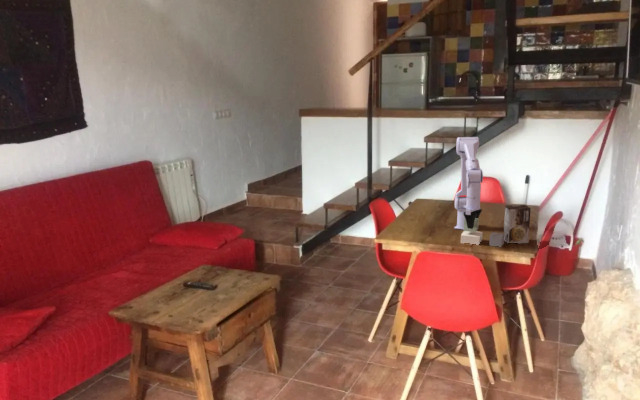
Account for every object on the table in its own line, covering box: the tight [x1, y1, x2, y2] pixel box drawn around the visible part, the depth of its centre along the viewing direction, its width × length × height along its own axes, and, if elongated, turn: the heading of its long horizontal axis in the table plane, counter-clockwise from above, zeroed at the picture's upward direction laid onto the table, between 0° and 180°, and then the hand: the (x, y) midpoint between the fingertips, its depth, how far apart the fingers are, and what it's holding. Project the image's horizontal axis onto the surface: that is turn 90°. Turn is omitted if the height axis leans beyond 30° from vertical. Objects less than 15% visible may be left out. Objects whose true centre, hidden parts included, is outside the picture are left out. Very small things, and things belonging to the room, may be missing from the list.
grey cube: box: [488, 231, 505, 248], centre depth 220 cm, size 5×5×5 cm
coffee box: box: [503, 204, 531, 244], centre depth 223 cm, size 9×6×16 cm
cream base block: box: [460, 230, 483, 246], centre depth 226 cm, size 8×8×4 cm
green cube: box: [463, 217, 480, 232], centre depth 225 cm, size 5×5×5 cm
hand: (472, 226), depth 225 cm, fingers closed on green cube, 5 cm apart
